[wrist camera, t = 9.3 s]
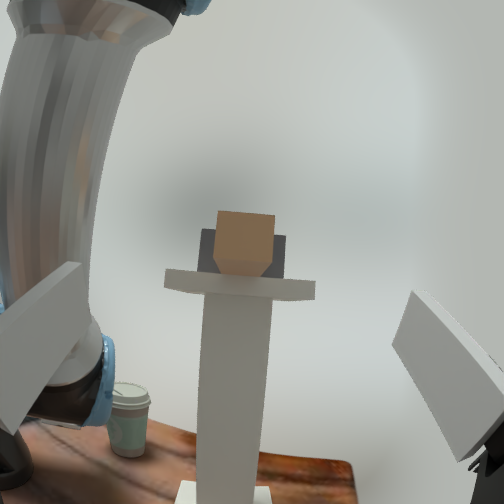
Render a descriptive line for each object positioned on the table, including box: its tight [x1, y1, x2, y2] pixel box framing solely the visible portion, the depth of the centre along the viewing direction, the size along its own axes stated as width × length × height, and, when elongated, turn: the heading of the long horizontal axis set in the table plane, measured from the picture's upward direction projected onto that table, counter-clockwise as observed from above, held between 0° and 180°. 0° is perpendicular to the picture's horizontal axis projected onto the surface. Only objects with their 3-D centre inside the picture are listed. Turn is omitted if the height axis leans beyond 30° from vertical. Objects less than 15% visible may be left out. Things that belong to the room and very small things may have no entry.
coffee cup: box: [106, 382, 151, 457], centre depth 37 cm, size 8×8×12 cm
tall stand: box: [164, 269, 315, 504], centre depth 26 cm, size 12×12×30 cm
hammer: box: [197, 211, 286, 279], centre depth 24 cm, size 19×8×4 cm, turn 3°
